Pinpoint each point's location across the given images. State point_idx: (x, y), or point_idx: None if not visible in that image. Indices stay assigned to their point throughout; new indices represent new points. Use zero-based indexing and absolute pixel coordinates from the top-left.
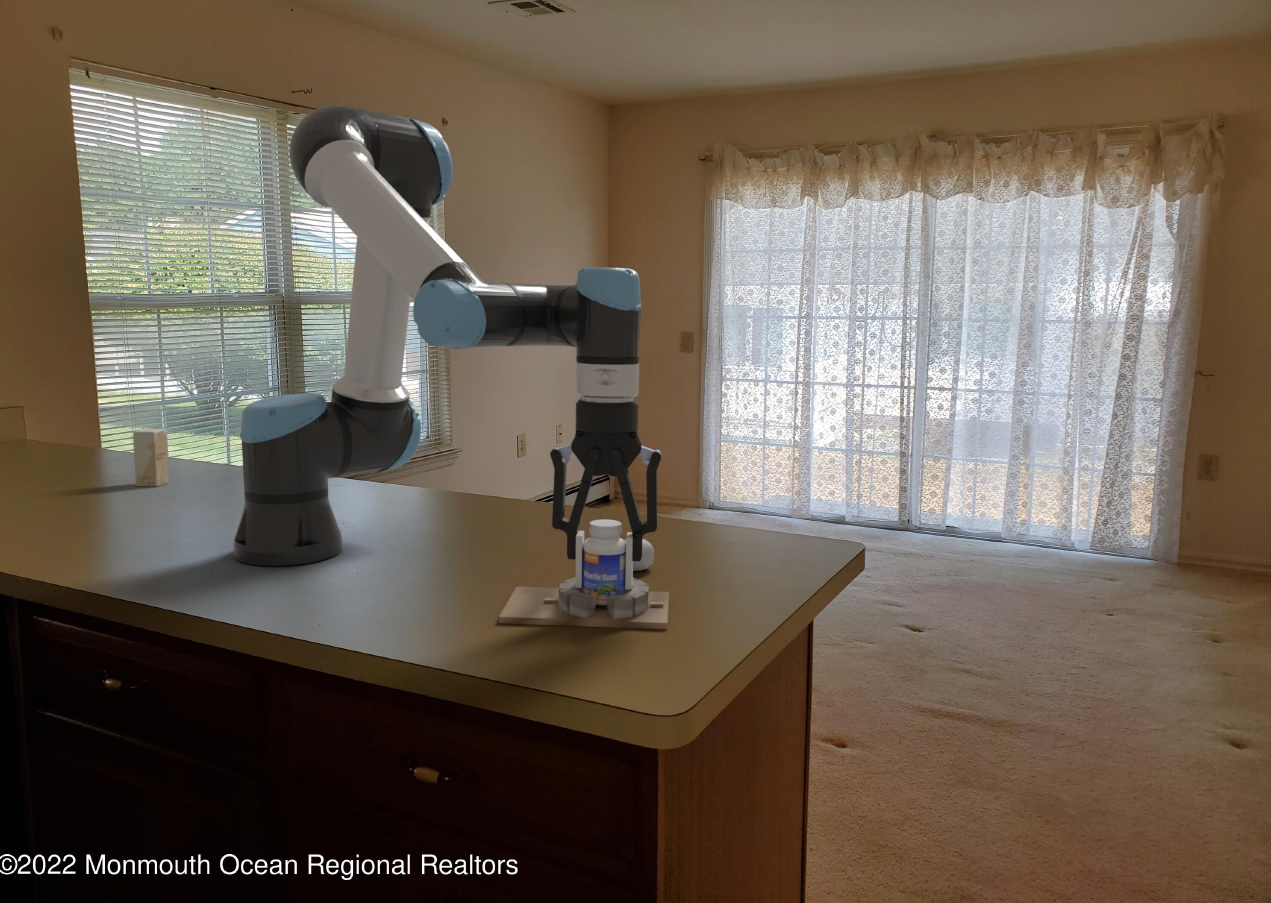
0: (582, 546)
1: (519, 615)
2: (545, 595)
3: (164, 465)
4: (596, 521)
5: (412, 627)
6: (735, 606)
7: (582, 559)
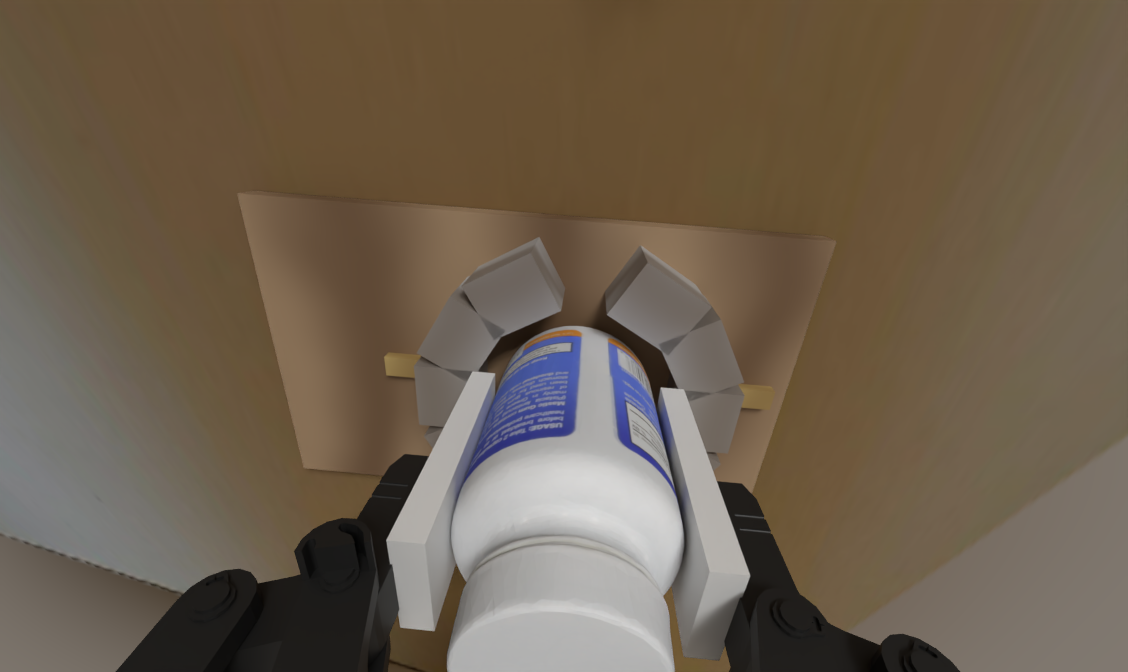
0: (452, 552)
1: (352, 460)
2: (374, 298)
3: None
4: (491, 657)
5: (136, 476)
6: (1041, 322)
7: None
